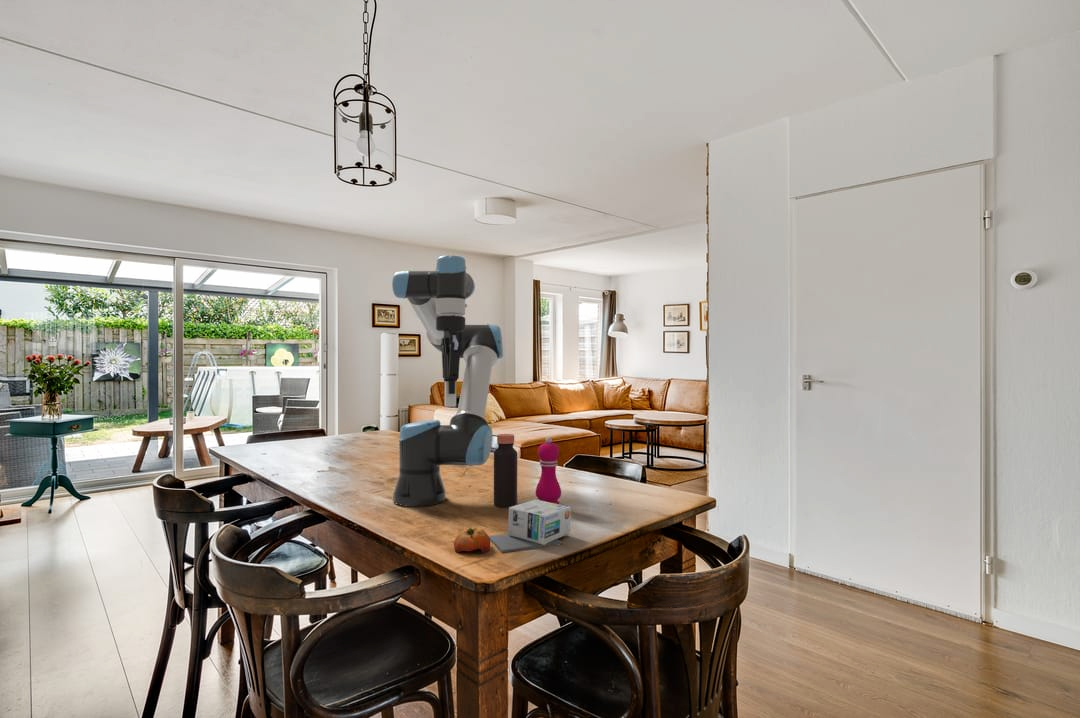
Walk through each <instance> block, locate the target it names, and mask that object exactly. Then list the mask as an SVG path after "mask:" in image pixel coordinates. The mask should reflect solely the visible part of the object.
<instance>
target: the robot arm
mask: <svg viewBox="0 0 1080 718" xmlns="http://www.w3.org/2000/svg"><path fill="white" fill-rule="evenodd" d="M466 270H467V266H466V259H465V258H464V257H463V256H459V255H454V254H453V255H451V254H450V255H441V256H439V257H438V258H437V259H436V267H435V270H402V271H396V272H395V273H394V275H393V277H392V284H391V286H392V292H393V294H394V297H396V298H398V299H407V300H408V302H409V303H410V305H411V307H412V308H413V310H414V312H415V313H416V315H417V317H418V319H419V320H420V321H421V323H422V325H423V327H424V329H425V330H426V338H427V339H428V341H429V343H430V344H431V345H432V346H433V347H434V348H435V349H436V350H438V351H439V352H441V363H442V364H441V365H442V366H441V367H442V378H443V382H444V407H446V408H451V407H452V408H453V407H457V410H456V414H455V415H453V416H452V417H451V419H450V421H449V424H444V425H443V424H441V421H440V420H439V419H430V420H429V419H428V420H421V421H415V422H411V423H410V422H409V423H407V424H403V425H402V426H401V428H400V430H399V439H398V443H399V448H398V449H399V458H398V459H399V461H398V462H399V464H398V465H399V474H398V479H397V482H396V483H395V487H394V490H393V492H392V493H393V494H392V502H393V501H394V502H395V503H397V504H401V505H400V506H402V505H407V506H406V507H425V506H424V505H428V506H433V505H432V504H434V505H437V503H438V504H440V503H443V502H444V501H446V489H445V486H444V482H443V480H442V477H441V473H440V470H441V469H440V466H468V467H473V466H483V465H484V464H485V463H486V462H487V461H488V459H489V457H490V454H491V450H492V446H493V445H492V442H493V429H492V427H491V426H490V425H489V422H488V421H487V420H486V418H485V417H486V410H487V405H488V404H487V403H488V396H489V389H490V383H491V382H490V381H491V376H492V369H493V367H494V366H496V364H497V362H498V359H502V358H503V357H504V346H503V345H504V344H503V337H502V329H501V327H500V326H499V325H497V324H488V323H487V324H466V317H465V314H466V308H467V307H468V304H467V303H466V299H468V298H470V297H471V296H472V295H473V294H474V293H475V288H476V284H475V282H474V279H473V277H472V276H471V275H470V274H469V273H467V272H466ZM461 359H463V361H465V369H464V373H463V380H462V385H461V390H460V396H459V401H458V406H457V382H458V380H459V378H460V377H459V373H460V372H459V371H460V363H461V362H460V360H461ZM442 501H443V502H442ZM394 502H393V503H394ZM395 503H394V504H395ZM397 504H396V505H397Z"/></svg>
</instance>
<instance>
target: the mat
mask: <svg viewBox="0 0 1080 718" xmlns="http://www.w3.org/2000/svg"><path fill="white" fill-rule="evenodd" d="M488 536H489V538H490V543H492V544H493V545H494V546H495V547H496V548H497V549H498V550H499V551H500V552H501V553H508V552H509V553H510V552H517V551H521V550H529V549H530V550H531V549H536V548H543V547H551V546H559V544H560V545H562V542H561V541H560V540H559V539H556V540H554V541H552V542H550V543H548V544H546V545H542V544H538V543H535V542H532V541H528V540H525V539H521V538H518V537H514V536H510V535H508V533H502V534H501V533H500V534H495V535H488Z"/></svg>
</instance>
